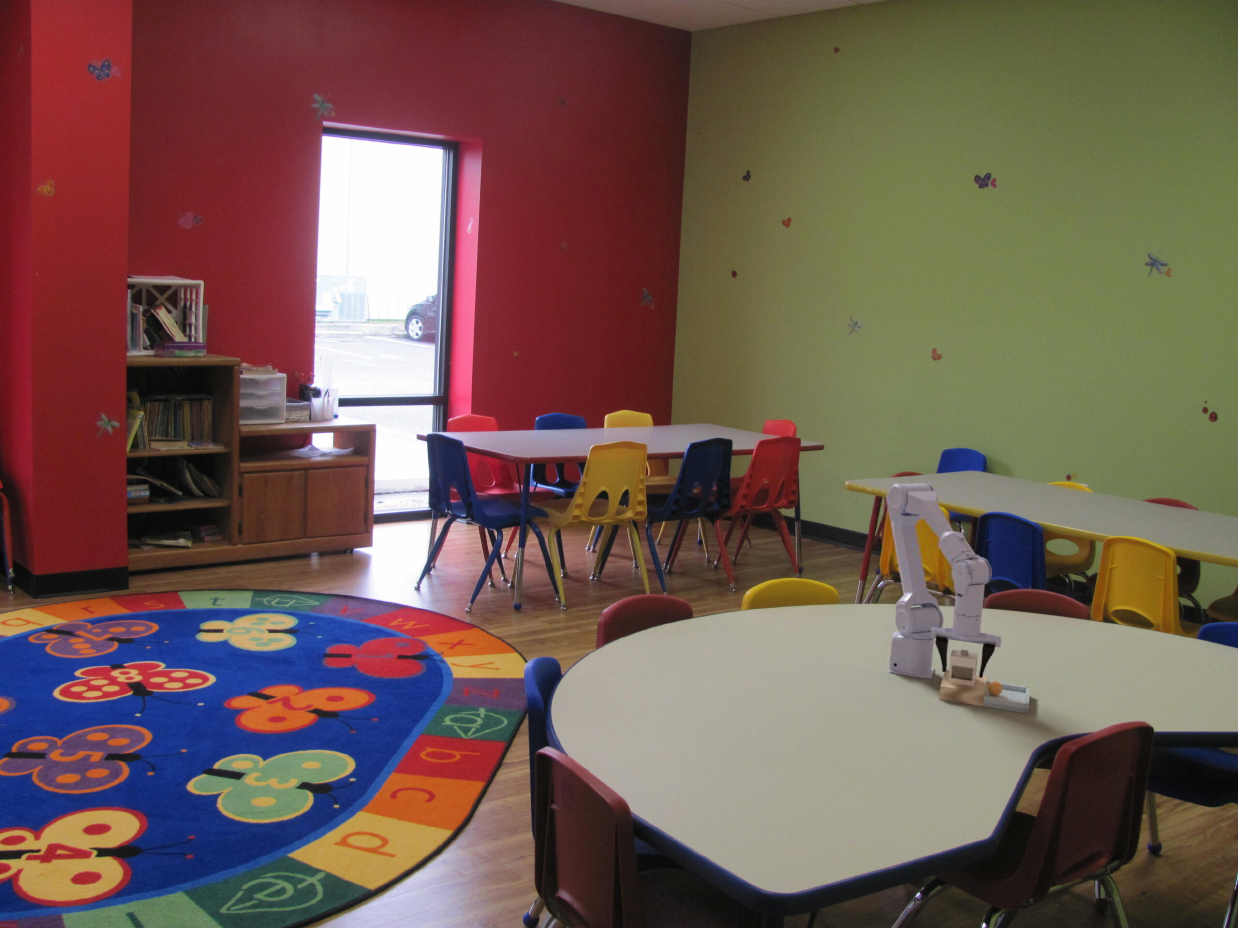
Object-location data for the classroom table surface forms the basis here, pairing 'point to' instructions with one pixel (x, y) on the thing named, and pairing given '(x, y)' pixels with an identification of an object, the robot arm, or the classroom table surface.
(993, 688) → the ball
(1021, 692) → the tray
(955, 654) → the small drawer with knob
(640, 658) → the classroom table surface
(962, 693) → the board
